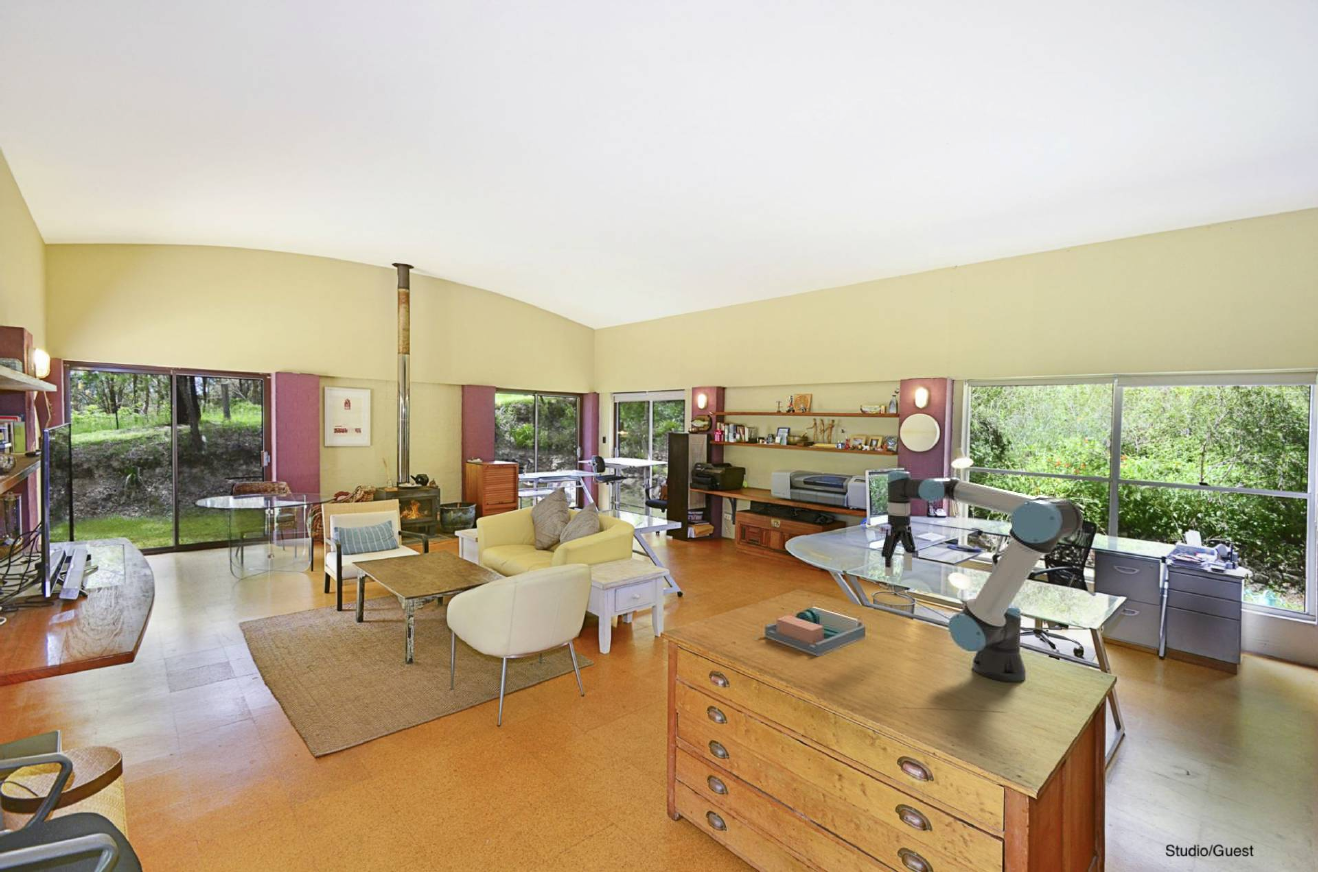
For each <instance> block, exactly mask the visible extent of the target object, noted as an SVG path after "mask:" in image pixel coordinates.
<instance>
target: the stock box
mask: <svg viewBox="0 0 1318 872" xmlns="http://www.w3.org/2000/svg"><path fill="white" fill-rule="evenodd" d="M776 622H777V628H776V632H777V633H780V634H783V635H786V636H789V637H791V638H794V639H797V640H800V641H803V642H805V643H808V644H811V645H814V646H815V643H817V642H820V641H823V638H824V626H821V625H818V624H815V623H811V622H808V621H805V620H802V619H799V618H796V617H795V616H793V615H789V614H787V615H785V616H781V617H778V618H776Z"/></svg>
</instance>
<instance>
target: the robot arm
mask: <svg viewBox="0 0 1318 872" xmlns="http://www.w3.org/2000/svg"><path fill="white" fill-rule="evenodd" d="M887 475H888V476H887V482H886V484H887V504H886V505H887V513H888V515H887V525H889V526H891V528H890V529H888V528H886V529H885V538H884V542H883V545H882V546H883V547H882V551H881V554H880V556H881V557H882V558H884V576H885V577H889V578H890V577H891V578H894V556H893V555H894V553H895V551H896V547H897V545H898V544H899V543H900V542H901V544H902V547H903V549H904V552H903V570H904V571H908V572H913V554H915V553H916V545H915V541H914V536H913V533H912V526H911V516H910V514H911V500H914V501H915V500H917V501H924V502H929V503H930V502H935V503H936V502H939V501H940V500H949V501H953V502H956V503H957V502H958V503H960V504H961V503H962V504H965V505H969V506H973V507H977V508H980V509H985V510H987V511H988V510H989V511H992V512H995V513H1001V514H1005V515H1007V516H1010V524H1011V528H1010V529H1009V531H1008V534H1009V537H1010V539H1011V540H1009V543H1008V544H1007V546H1006V548H1005V549H1004V551H1003V552H1002V554H1001V556H1000V557H999V559H998V561H997V562H996V564H995V565H994V567H993V569H992V571H991V573H990V574H989V576H988V578H987V579H986V581H985V583H984V584H983V586H982V588H981V589H980V591H979V593H978V594H977V596H976V597H975V598H970V599H969V600H967V602H966V603H965V605H964V606H963V609H962V610H961V612H958V613H955V614H954V615H952V616H951V618H950V619H949V622H948V627H947V628H948V632H949V634H950V637H951V639H952V640H953V641H954V643H955V644H956V645H957V646H958V647H960V648H961V649H962V650H964V651H966V652H972V653H973V652H975V655H974V656H973V657H974V658H973V661H972V669H973V670H974V672H976V673H977V674H979V675H981V676H983V677H986V678H988V679H992V680H995V681H1001V682H1010V683H1011V682H1012V683H1015V682H1022V681H1024V680H1025V679H1026V675H1027V674H1026V673H1027V670H1026V667H1025V665H1024V661H1023V659H1022V655H1021V630H1022V629H1021V627H1022V626H1021V625H1022V615H1021V609H1020V608H1019V607H1018V606H1016V605H1015V604H1012V603H1013V601H1014V600H1015V598H1016V596H1017V595H1018V594H1019V592H1020V590H1021V589H1022V587H1023V585H1025V582H1026V581H1027V580H1028V578H1029V576H1030V574H1031V573H1032V571H1033V570H1034V569H1035V567H1036V565H1037V563H1038V562H1039V560H1040V559H1041V557H1042V556H1044V555H1050V554H1051V553H1052V551H1053V550H1054V548H1055V547H1056V545H1057V544H1058V542H1059V541H1060V540H1061V539H1064V538H1068V537H1073V535H1075V534H1077V533H1078V532H1079V531H1080V529H1081V527H1083V526H1082V525H1083V520H1084V518H1083V513H1082V511H1081V509H1080V508H1079V506H1077V505H1076V504H1075V503H1074V502H1072V501H1070V500H1068V499H1067V498H1066V499H1065V498H1059V497H1054V496H1048V495H1041V494H1040V495H1038V496H1033V495H1028V494H1024V493H1018V492H1015V491H1010V490H1005V489H1001V488H998V487H997V488H996V487H992V486H987V485H984V484H983V485H982V484H978V483H974V482H969V481H965V480H961V479H960V478H958V477H954V476H945V477H934V478H933V477H932V478H931V477H930V478H928V477H927V478H920V477H919V478H918V477H917V478H916V477H915V478H914V477H911V473H910V472H909V471H901V470H899V471H897V470H896V471H895V470H894V471H893V470H892V471H889V472H888V474H887Z"/></svg>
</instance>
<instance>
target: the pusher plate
mask: <svg viewBox="0 0 1318 872" xmlns="http://www.w3.org/2000/svg"><path fill="white" fill-rule="evenodd" d="M811 608H812V609H814V610H816V611H817V613H818V614H819V617H820V625H824V626H827V627H830V628H833V629H837V630H840V631H842V632H846V631H849V630H852V629H854V628H857V627H858V621H859V619H857V618H854V617H850V616H847V615H843V614H841V613H837V612H833V611H830V610H826V609H823V608H820V607H817V606H811Z"/></svg>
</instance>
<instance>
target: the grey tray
mask: <svg viewBox="0 0 1318 872" xmlns="http://www.w3.org/2000/svg"><path fill="white" fill-rule="evenodd" d="M794 617H796V615H795V616H794ZM822 626H824V625H822ZM826 627H827V626H826ZM776 628H777V621H776V622H774V623H769V624H768V625H765V627H764V637H765V638H767V639H770V640H773V641H776V642H778V643H782V644H783V645H786V646H789V647H792V648H794V649H797V650H800V651H803V652H806V653H808V654H811V655H814V656H816V657H820V656H823V655H825V654H828V653H830V652H833V651H835V650H837V649H840V648H843V647H844V646H847V645H850V644H852V643H854V642H857V641H860V640H862V639H864V638H866V626H865V625H863V621H861V620H858V627H857V628H854V629H852V630H849V631H846V632H843V633H841V634H838V635H836V636H833V637H831V638H828V639H824V638H823V641H820V642H817V643H815V646H814V645H811V644H808V643H805V642H803V641H800V640H797V639H794V638H791V637H789V636H786V635H783V634H780V633H777V632H776Z"/></svg>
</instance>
